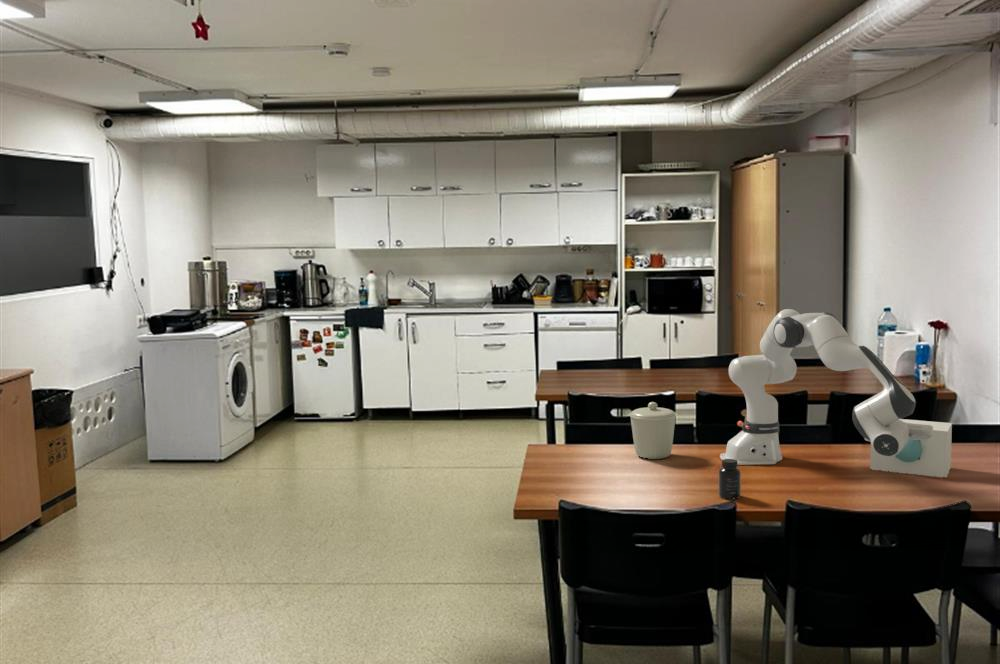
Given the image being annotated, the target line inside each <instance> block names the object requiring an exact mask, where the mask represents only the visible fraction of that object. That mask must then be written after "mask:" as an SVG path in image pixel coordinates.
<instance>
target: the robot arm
mask: <svg viewBox="0 0 1000 664" xmlns="http://www.w3.org/2000/svg"><path fill="white" fill-rule="evenodd" d="M760 339H761V340H760V342H759V349H760V352H761V354H757V355H756V354H755V355H743V356H739V357H736V358H734V359H732V360H731V361H730V363H729V366H728V370H727V371H728V377H729V378H730V380H731V381H732V382H733V384H735V385H736V386H737V387H738V388H739V389H740V390H741V391H742V393H743V395H744V398H745V403H746V415H747V420H746V421H745V420H744V422H743V421H742V420H739V421H737V423H736V424H737V427H740V428H741V429H742V430H740V431H739V432H738V433H737V434H736V435H734V436H733V437H732V438H730V439H729V440H728V441H727V444H726V449H725V452H722V453H720V454H719V458H720V459H721V461H722V460H724V459H734V460H737V465H738V466H741V465H745V466H746V465H747V466H749V465H776V464H777V463H778V462H781V461H782V460H783V456H782V451H781V447H780V441H779V439H780V438H779V436H780V422H779V403H778V401H777V399H776V397H774V396H773V395H772V394H769V393H767V392H766V389H765V385H773V384H782V383H786V382H789V381H792V380H793V379H794V378H795V376H796V374H797V369H798V367H797V363H796V361H795V359H794V358H793V357H792V355H791V353H792V351H793V349H794V348H803V347H804V348H806V347H810V346H813V347H814V350H815V351H816V353H817V355H818V357H819V359H820V360H821V361H822V363H823V364H824V366H825V367H826V368H828V369H830V370H832V371H836V372H847V371H853V370H859V369H868V370H870V372H871V373H872V374H873V376H875V377H876V379H877V380H878V381H879V382H880V383H881V385H882V386H883V389H882V391H880V392H878V393H876V394H874V395H872V396H871V397H869V398H867V399H865V400H864V401H862V402H860V403H859V404H857V405H855V406H854V407H853V409H852V415H851V416H852V423H853V425H854V427H855V428H856V430H857V431H858V432H859V434H860V435H861V436H862V437H863V438H864V440H865V441H867V442H870V444H871V443H872V446H873V448H874V450H875V451H876V452H877V453H878V454H880V455H882V456H886V457H890V456H894V455H897V454H898V453H899V452H900V451H901V450H902V449H903V448H904V446H905V445H906V443H907V441H908V440H909V439H913V440H929V439H930V438H931V437H932V436H933V426H930V425H922V424H912V423H905V422H903V421H901V420H899V419H904V418H906V417H908V416H911V415H913V413H914V411H915V408H916V404H917V402H916V399H915V396H914V395H913V393H911V391H910V390H909V389H908V387H905V386H904V385H903V384H902V383H901V381H899V380H898V378H896V376H895V375H894V374H893V373H892V372H891V370H890V369H889V368H888V367H887V366H886V364H884V362H883V361H882V360H881V359H880V358H879V357H878V356H877V355H876V354H875V353H874V352H873V351H872V350H871V349H870V348H869V347H867V346H865V345H858V344H856V343H855V342H854V341H853V340H852V339H851V338H850V335H849V334H848V332H847V331H846V329H845V328H844V327H843V325H842V324H841V323H840V321H838V319H837V318H836V316H835V315H834V314H832V313H831V312H826V311H820V312H819V311H818V312H807V313H806V312H805V313H802V314H801V313H800V312H798V311H797V310H795V309H792V308H786V309H782V310H781V311H779V312H778V313H777V314H776V315H775V316H774V317H773V318H772V320H771V322H770V323H769V325H768V326H767V328H766V330H765V332H764V333H763V335H762V337H761V338H760Z"/></svg>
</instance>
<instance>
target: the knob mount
mask: <svg viewBox="0 0 1000 664" xmlns="http://www.w3.org/2000/svg"><path fill="white" fill-rule="evenodd" d="M899 420H901V421H903V422H905V423H912V424H922V425H930V426H933V436H932V437H931V438H930V439H929V440H921V442H920V443H921V445H922V454H921V456H920V457H919V458H918V459H917V460H916V461H914V462H904V461H901V460H900V459H898V458H897V457H896V456H895V455H894V456H890V457H886V456H882V455H880V454H878V453H877V452H876V451H875V450H874V448H873V446H872V443H871V442H870V463H869V466H870V469H872V471H879V470H881V471H882V472H888V471H889V472H890V473H897V472H898V474H906V473H907V474H906V475H908V474H909V475H915V474H916V476H927V477H934V476H935V477H937V478H943V477H946V478H945V479H947V477H948V476H949V473H950V471H949V470H951V468H952V464H951V463H952V439H953V438H952V436H953V435H952V432H953V431H952V430H953V429H952V428H953V425H952V424H953V422H952V423H951V422H944V421H942V422H941V421H929V420H928V421H927V420H920V419H919V420H918V419H907V418H906V419H904V418H902V419H899ZM870 469H869V470H870ZM881 471H880V472H881ZM889 472H888V473H889Z"/></svg>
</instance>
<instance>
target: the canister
mask: <svg viewBox="0 0 1000 664" xmlns="http://www.w3.org/2000/svg"><path fill="white" fill-rule="evenodd" d="M628 416H629V417H630V423H631V424H630V426H631V431H632V439H633V445H634V451H635V454H636V455H637V456H638V457H639V456H640V458H641V457H643V458H642V459H645V458H648V459H647V460H662V459H666V458H668V457H669V456H670V455H671V454H672V453H671V452H672V449H673V443H674V433H675V424H676V418H677V416H678V414H677V413H676V412H675V411H674V410H672V409H670V408H665V407H658V403H657V402H656V401H655V402H654V401H651V402H649V403H648V404H647V407H639V408H636V409H634V410H632V411H631V412H629V413H628Z"/></svg>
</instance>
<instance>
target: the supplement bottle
mask: <svg viewBox="0 0 1000 664" xmlns="http://www.w3.org/2000/svg"><path fill="white" fill-rule="evenodd" d="M738 466H739V465H737V460H734V459H724V460H722V459H721V468H719V470H718V495H719V497H720V498H721V499H723V498H725V499H724V500H729V499H733V498H738V497H740V498H741V496H742V494H741V492H742V490H741V487H742V486H741V485H742V483H741V480H742V478H741V477H742V475H741V470H740V469H739V468H738ZM738 499H739V498H738Z"/></svg>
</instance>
